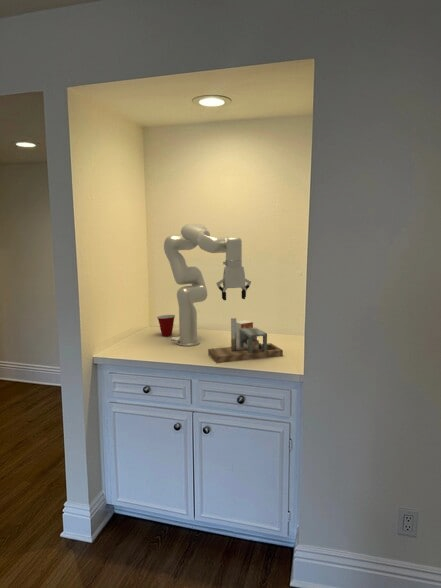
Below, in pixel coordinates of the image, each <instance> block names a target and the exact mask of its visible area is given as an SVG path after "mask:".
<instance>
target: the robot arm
mask: <svg viewBox="0 0 441 588" xmlns="http://www.w3.org/2000/svg"><path fill="white" fill-rule="evenodd" d="M242 242H243V241H242V239H241V238H240V237H229V236H215V237H213V236H211V234H210V231H209V230H208V228H207V227H206V226H205V224H204V225H203V224H201V223H189V224H185V225H183V226H182V227H181V230H180V234H171V235H169V236H167V237H166V238H165V240H164V243H163V250H164V255H165V256H166V258H167V260H168V262H169V265H170V269H171V272H172V276H173V278H174V281H175V283H176V284H177V285H181V286H182V287H179V288H178V290H177V292H176V299H177V303H178V315H179V316H178V321H179V324H178V325H179V334H178V335H177V336H170V341H171V342H176V344H177V345H179V346H183V347H192V346H197V345H199V344H200V343H201V340H200V339H198V321H197V320H198V316H197V309H196V307H195V305H194V304H195V303H201V302H204V301H206V300H207V298H208V290H207V289H208V288H207V286H206V283H205V280H204V277H203V274H202V271H201V270H200V269H199V267H197V266H188V265H187V263H186V259H185V257H184V255H182V253H181V252H179V251H191V250H194V249H195V248H196V247H199V249H201V250H203V251H204V252H207V253H211V254H221V253H222V254H224V253H225V260H224V261H223V262H222V264H223V265H225V266H224V268H223V274H222V279H221V280H219V281H217V282H216V283H215V285H216V286H217V288H218V289H219V291H221V299H222V300H223V301H227V292H226V291H227V290H228V289H237V288H238V289H239V288H241V299H242V300H246V298H247V297H246V296H247V291H248V289H249V288H250V286H251V283H252V280H251V281H250V280H249V279H247V278H246V276H245V269H244V266H242V265H243V264H242V263H243V262H242V261H243V260H242V257H243V255H242V253H243V252H242V251H243V249H242V248H243V247H242ZM221 284H222V285H223V287H222V286H221ZM183 285H184V286H183ZM185 285H186V286H185Z"/></svg>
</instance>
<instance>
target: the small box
mask: <svg viewBox="0 0 441 588" xmlns="http://www.w3.org/2000/svg"><path fill="white" fill-rule="evenodd" d="M244 328H254V322H253V321H251V320H248V319H244V320H238V321H237V320H236V346H239V329H244Z"/></svg>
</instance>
